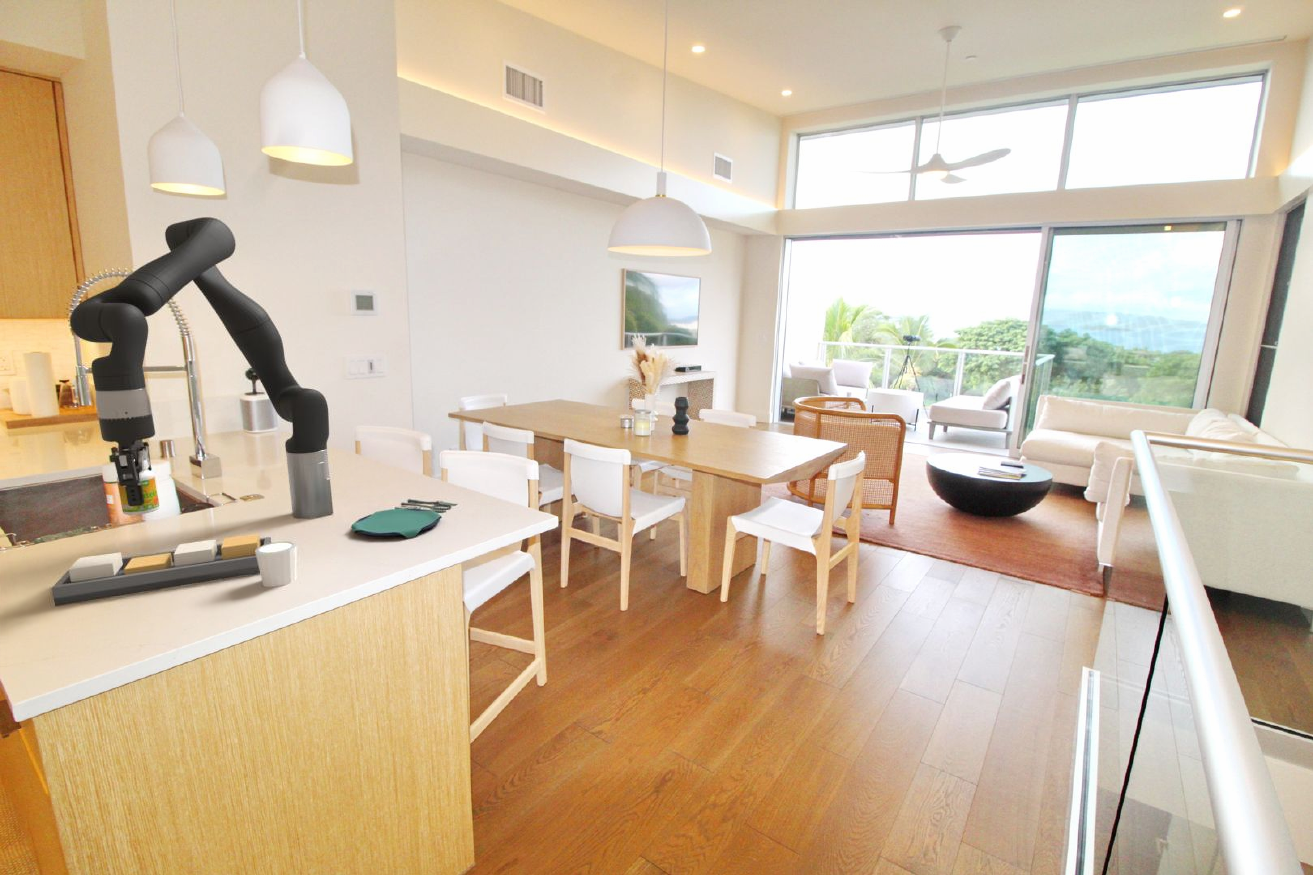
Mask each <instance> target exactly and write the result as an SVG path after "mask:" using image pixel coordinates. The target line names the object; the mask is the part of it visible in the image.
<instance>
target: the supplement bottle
mask: <svg viewBox="0 0 1313 875" xmlns="http://www.w3.org/2000/svg"><path fill="white" fill-rule="evenodd" d="M138 467H139V466H138ZM138 467H136V469H137V468H138ZM147 468H148V463H147V460H144V473H142V474H141V481H142V491H143V496H144V504H143V505H140V506H129V505H128V500H127V495H126V489H125V487H123V486H120V484H119V479H118V476H117V477H116V482H117V487H118V493H119V499H120V503H121V504H120V505H121V511H122V513H123V514H124V515H126V516H127V515H128V516H138V515H146V514H149V513H152V512H156V511H157V510H159V509H160V501H159V494H158V489H157V484H156V483H157V482H156V478H155V477H156V476H155V473H154V472H153V471H152V470H151V471H149V470H147ZM127 477H128V479H133V477H132V474H130V475H128V476H127Z"/></svg>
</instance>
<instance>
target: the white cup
mask: <svg viewBox="0 0 1313 875" xmlns="http://www.w3.org/2000/svg"><path fill="white" fill-rule="evenodd" d="M297 549H298V548H297V543H296V542H294V541H277V542H271V543H270V544H266V545H263V546H261V547H259V548H257V549H256V550H255V553H256V557H257V561H258V566H259V570H260V573H259V574H260V577H261V582H262V585H263V586H264V587H266V588H277V587H282V586H286V585H288V584H291V583H294V582H295V581H296V580H297V564H298V563H297V560H298V559H297V558H298V557H297V555H298V554H297Z"/></svg>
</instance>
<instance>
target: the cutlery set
mask: <svg viewBox="0 0 1313 875" xmlns="http://www.w3.org/2000/svg"><path fill="white" fill-rule="evenodd" d="M434 504H435V505H434ZM400 505H401V506H403V507H397V506H395V507H394V508H393V509H391V508H390V509H384V510H379V511H375V512H373V513H372V514H369V515H366V516H363V517H360V518H358V520H356V521H355V522H353V524H351V526H350V528H351V530H352V531H353V532H354V533H355V534H357V533H360V534H363V535H368V536H375V537H391V536H393V537H394V536H404V537H405V538H407V539H412V538H414V537H416V536H417V535H418V534H419V532H421V531H425V530H429V529H430V528H432V527H435V526H436V525H437V524H438V523H440V520H441V519H442V515H441V514H439V513H447V510H449V509H451V508H453V506H454V507H456V506H457V505H458V503H451V502H445V501H443V500H440V501H439V500H436V501H424V500H418V499H411V498H408V499H407V501H406V502H401V503H400ZM430 505H431V506H430ZM405 506H406V507H405ZM407 506H410V507H407ZM411 507H412V508H411ZM442 507H443V508H442ZM427 508H430V509H427Z"/></svg>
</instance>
